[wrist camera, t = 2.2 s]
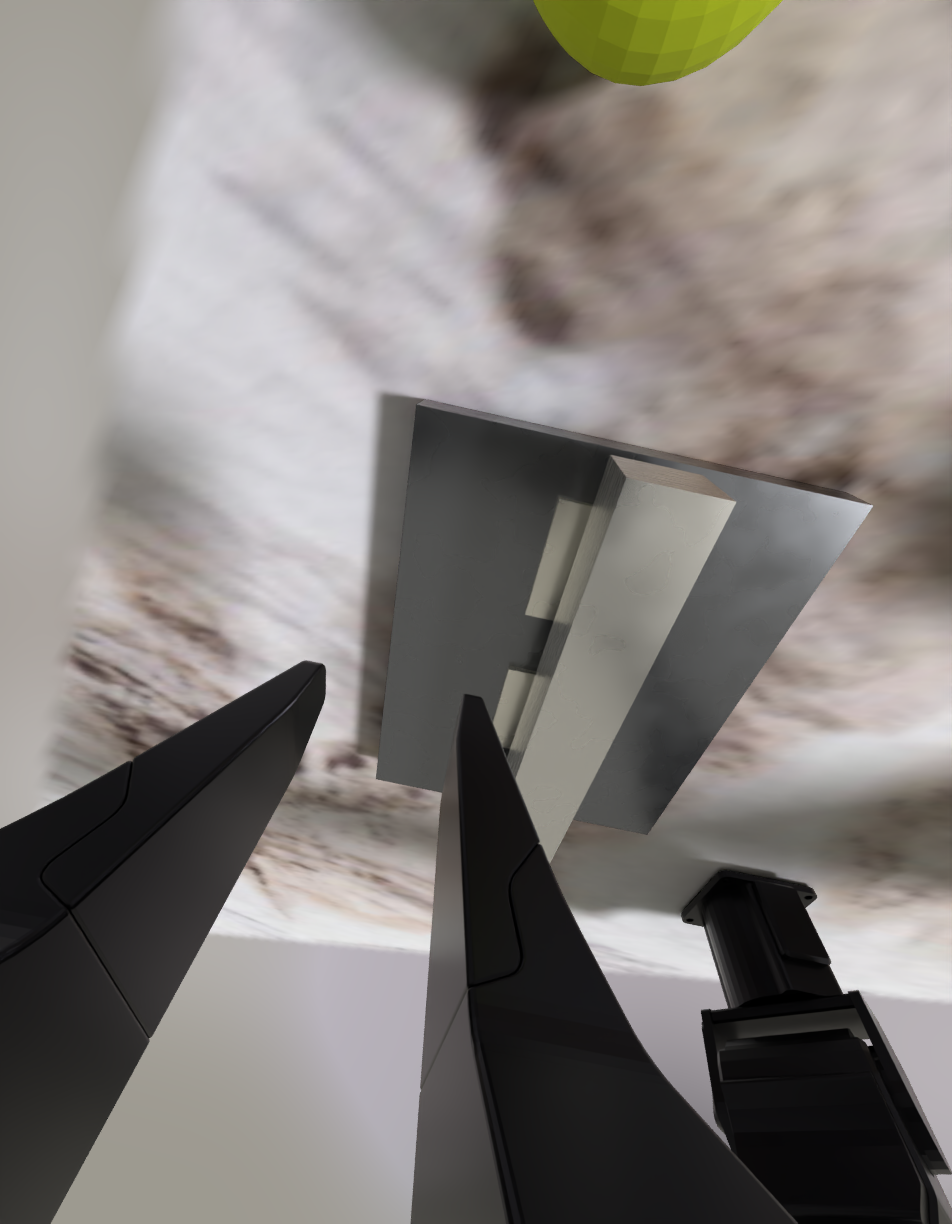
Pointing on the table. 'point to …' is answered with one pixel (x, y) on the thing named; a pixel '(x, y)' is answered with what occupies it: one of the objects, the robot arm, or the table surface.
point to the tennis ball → (650, 34)
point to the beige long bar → (610, 629)
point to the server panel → (534, 584)
